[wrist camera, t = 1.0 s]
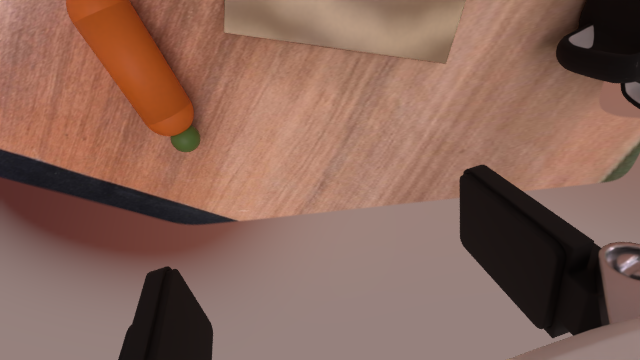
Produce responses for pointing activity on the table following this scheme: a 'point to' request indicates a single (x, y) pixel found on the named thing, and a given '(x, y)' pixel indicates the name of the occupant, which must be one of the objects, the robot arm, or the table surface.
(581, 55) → the mug
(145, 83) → the carrot
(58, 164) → the table surface
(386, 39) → the chopping board
